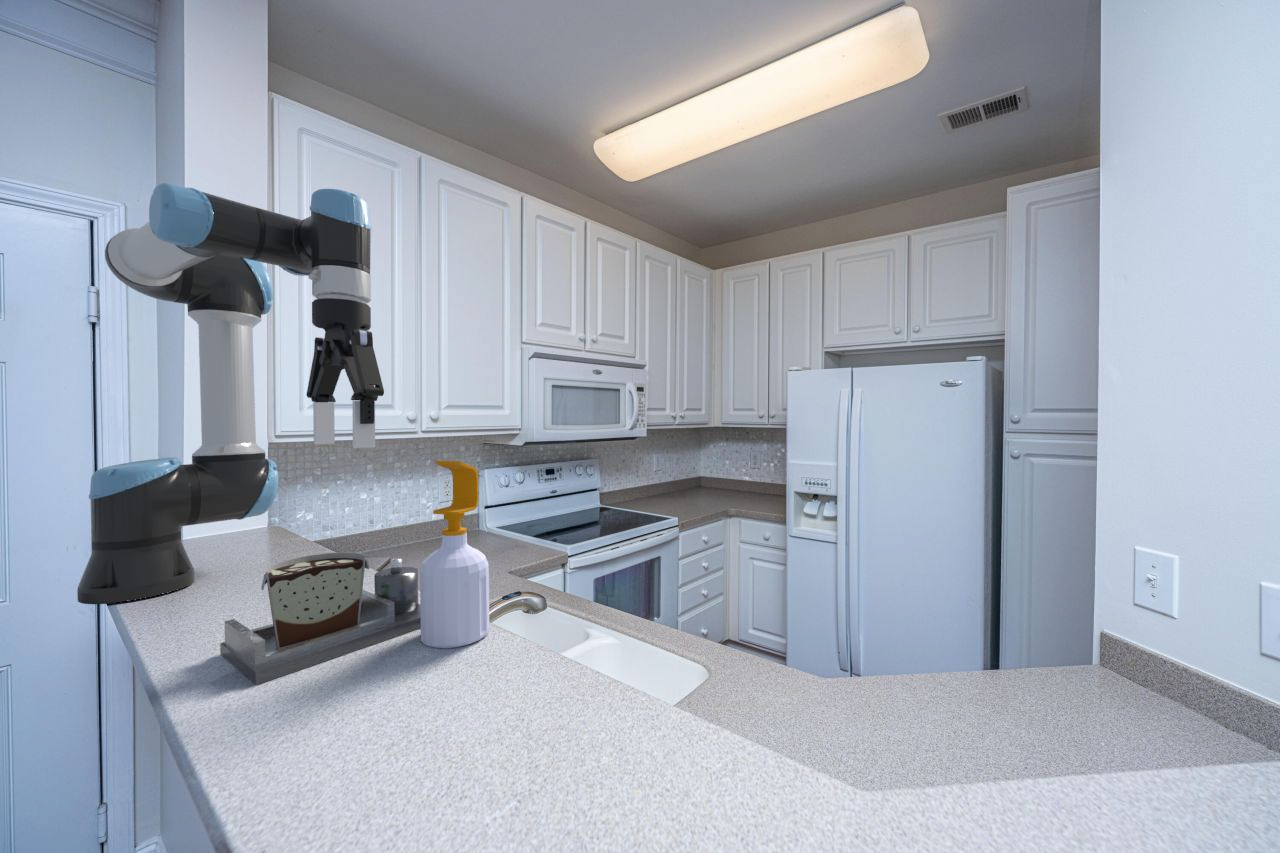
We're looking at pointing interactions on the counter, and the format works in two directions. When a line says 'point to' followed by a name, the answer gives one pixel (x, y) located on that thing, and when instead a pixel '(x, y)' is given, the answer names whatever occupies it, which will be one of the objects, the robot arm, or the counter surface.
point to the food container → (315, 595)
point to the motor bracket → (379, 621)
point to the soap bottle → (455, 573)
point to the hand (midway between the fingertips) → (343, 446)
